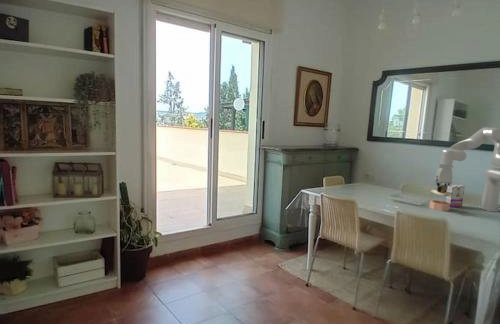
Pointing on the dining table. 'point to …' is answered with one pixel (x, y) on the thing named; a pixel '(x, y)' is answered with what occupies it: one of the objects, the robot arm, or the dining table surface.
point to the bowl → (439, 205)
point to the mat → (464, 213)
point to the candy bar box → (455, 195)
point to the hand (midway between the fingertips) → (441, 191)
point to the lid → (442, 191)
